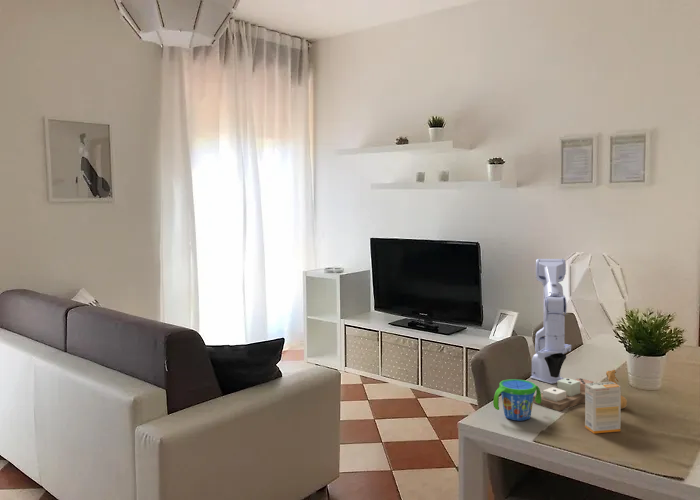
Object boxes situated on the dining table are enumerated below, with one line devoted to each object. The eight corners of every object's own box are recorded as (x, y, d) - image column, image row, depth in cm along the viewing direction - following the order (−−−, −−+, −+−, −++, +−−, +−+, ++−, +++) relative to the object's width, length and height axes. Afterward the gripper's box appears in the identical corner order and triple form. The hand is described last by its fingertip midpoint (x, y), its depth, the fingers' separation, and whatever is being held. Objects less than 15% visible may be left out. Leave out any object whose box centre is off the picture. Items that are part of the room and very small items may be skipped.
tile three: (584, 396, 190) (584, 384, 190) (571, 392, 194) (571, 380, 194) (593, 393, 193) (593, 381, 192) (579, 389, 197) (580, 377, 196)
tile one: (556, 406, 181) (556, 393, 181) (542, 402, 185) (542, 389, 185) (566, 403, 184) (566, 390, 184) (552, 399, 188) (552, 386, 188)
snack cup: (531, 408, 181) (531, 376, 180) (550, 420, 171) (550, 387, 170) (485, 413, 178) (485, 381, 177) (502, 426, 167) (502, 392, 167)
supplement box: (611, 425, 166) (611, 380, 165) (621, 432, 162) (621, 386, 160) (584, 427, 165) (584, 382, 164) (593, 434, 161) (593, 388, 159)
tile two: (570, 396, 185) (570, 383, 185) (557, 392, 190) (557, 380, 189) (580, 393, 188) (580, 380, 188) (566, 389, 192) (566, 377, 192)
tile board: (559, 411, 178) (559, 404, 178) (532, 402, 186) (532, 396, 186) (603, 394, 192) (603, 388, 192) (576, 387, 200) (576, 381, 200)
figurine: (624, 413, 175) (625, 374, 174) (603, 410, 178) (603, 372, 177) (628, 405, 182) (629, 367, 181) (608, 402, 185) (608, 365, 184)
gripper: (551, 340, 176) (551, 384, 177) (579, 333, 184) (579, 375, 185) (532, 336, 181) (532, 378, 183) (560, 329, 190) (560, 370, 191)
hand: (554, 376), depth 184 cm, fingers closed
